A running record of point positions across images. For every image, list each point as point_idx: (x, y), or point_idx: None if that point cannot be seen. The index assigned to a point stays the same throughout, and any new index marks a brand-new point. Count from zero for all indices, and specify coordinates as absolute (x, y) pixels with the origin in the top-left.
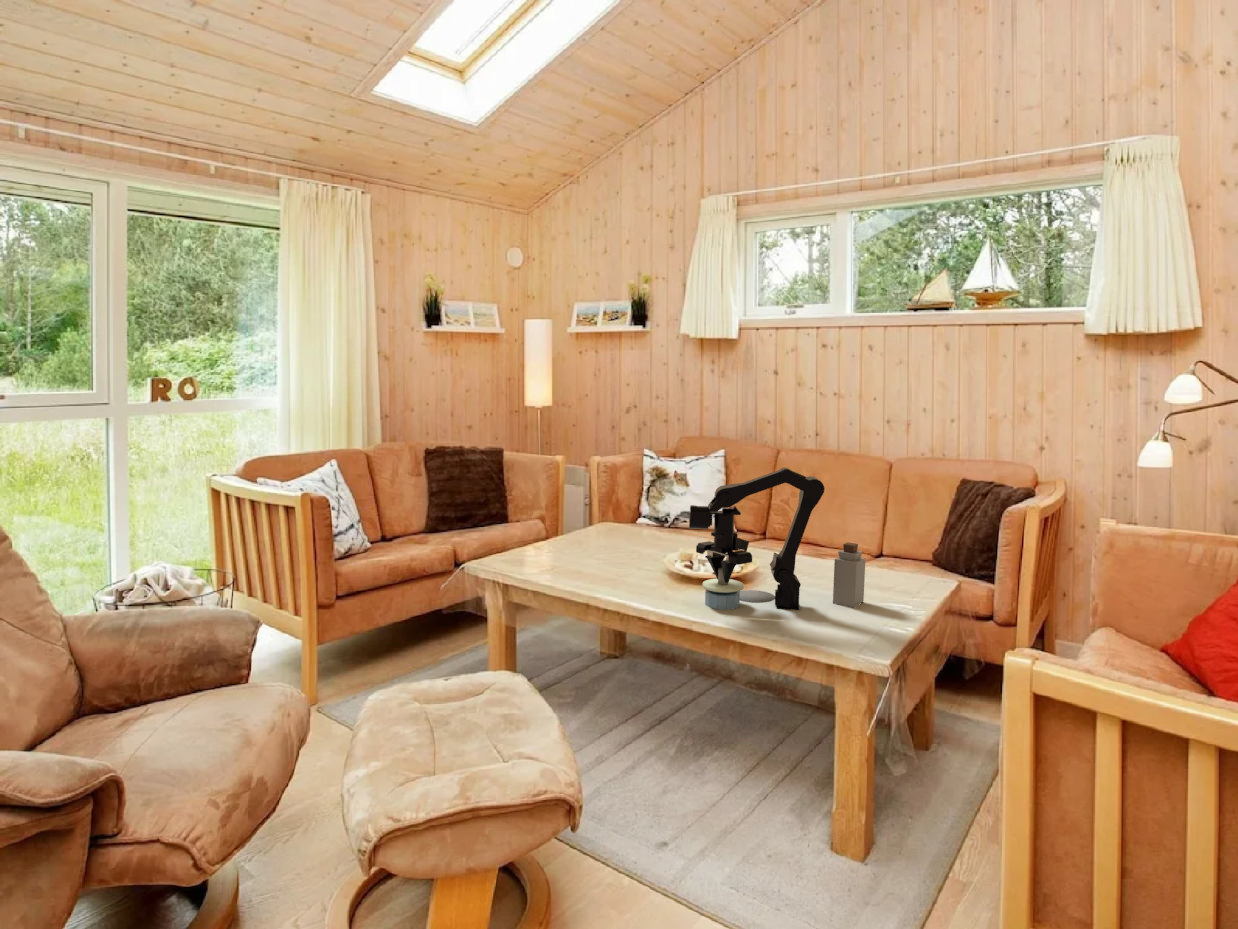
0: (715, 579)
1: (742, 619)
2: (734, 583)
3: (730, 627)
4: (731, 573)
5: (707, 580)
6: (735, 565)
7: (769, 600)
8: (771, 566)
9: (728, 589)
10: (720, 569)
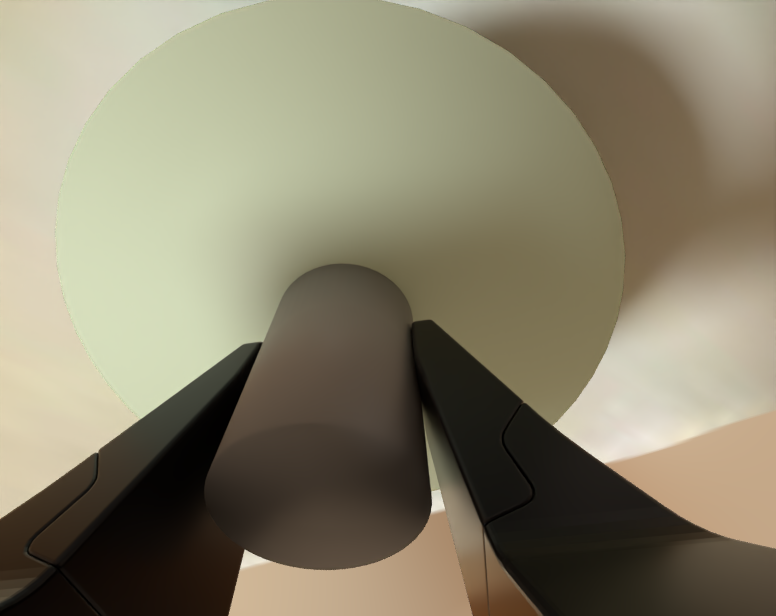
0: (103, 299)
1: (716, 280)
2: (390, 169)
3: (752, 415)
4: (507, 396)
5: (135, 398)
6: (701, 534)
7: None
8: None
9: (575, 386)
10: (321, 549)
